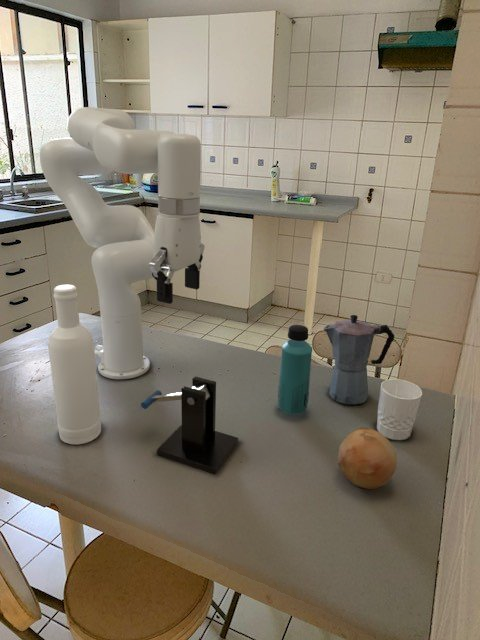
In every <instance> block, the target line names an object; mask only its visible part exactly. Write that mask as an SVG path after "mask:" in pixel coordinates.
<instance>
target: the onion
mask: <svg viewBox="0 0 480 640" xmlns="http://www.w3.org/2000/svg"><path fill="white" fill-rule="evenodd" d="M397 463H398V457H397V452H396V450H395V448H394V446H393V445H392V443H391V442H390V440H389V438H387V437H385V436H384V435H382V434H381V433H379V432H378V430H377V429H376V430H375V429H372V428H370V427H364V426H363V427H359V428H356V429H354V430H353V431H351V432H350V433H348V434H347V436H345V438H344V439H343V440H342V442H341V443H340V445H339V448H338V456H337V465H338V467H339V470H340V471H341V473H342V474H343V475H344V477H345V478H346V479H347V480H348V481H349V482H350V483H352V484H353V485H355V486H357V487H359V488H363V489H367V490H375V489H378V488H381V487H382V486H383V485H385V484H387V482H389V480H391V479H392V477H394V475H395V472H396V468H397Z"/></svg>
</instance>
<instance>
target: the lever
mask: <svg viewBox="0 0 480 640" xmlns="http://www.w3.org/2000/svg"><path fill="white" fill-rule="evenodd" d="M191 388H193V389H197V390H200V391H204V392H206V400H207V399H208V398H209V397H210V394H209V392H208V389H207V386H206V384H205V385H197V386H193V387H192V386H191ZM179 400H180V401H181V391H180V392H173V393H172V392H171V393H165V394H163V393H162V391H161V390H159V389H156V391H154V392H153V393H152V394H151V395H149V396H148V397H146V398H145V399H144V400H143V401H142V402H141V403H140V407H141V408H142V409H143V410H148V409H149V407H150V406H151V405H153V404H154V403H155V404H156V403H162V402H172V401H179Z"/></svg>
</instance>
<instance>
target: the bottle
mask: <svg viewBox="0 0 480 640" xmlns="http://www.w3.org/2000/svg"><path fill="white" fill-rule="evenodd" d="M78 297H79V294H78V291H77V287H76V286H75V285H73V284H69V283H68V284H65V283H64V284H59V285H57V286H55V287H54V288H53V298H54V302H55V311H56V319H57V325H56V326H55V327H54V328H53V329H52V331H51V332H50V334H49V338H48V341H47V350H48V357H49V365H50V372H51V373H50V374H51V381H52V388H53V389H52V390H53V396H54V403H55V412H56V419H57V422H56V423H57V430H58V435H59V439H60V440H61V441H62V442H63V443H66V444H68V445H83V444H84V445H85V444H87V443H90V442H92V441H93V440H95V439H97V438H98V436H100V434H101V431H102V417H101V411H100V401H99V399H100V398H99V388H98V376H97V375H98V374H97V364H96V356H95V352H94V350H95V342H94V338H93V336H92V334H91V332H90V330H89V328H88V327H86V326H85V325H84V324H82V323H81V322H80V314H79V302H78Z"/></svg>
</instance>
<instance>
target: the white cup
mask: <svg viewBox="0 0 480 640" xmlns="http://www.w3.org/2000/svg"><path fill="white" fill-rule="evenodd" d="M422 396H423V390H422V388H420V386H419V385H417V384H416V383H413V382H411V381H408V380H405V379H401V378H389V379H385V380H383V381H382V382H381V383H380V388H379V396H378V397H379V398H378V406H377V416H376V417H377V421H376V431H378V432H379V433H381V434H382V435H384V436H385V437H386V438H387V439H388V440H389V439H390V440H392V441H404V440H407V439H409V438H410V437H411V434H412V430H413V427H414V424H415V422H416V418H417V415H418V411H419V408H420V404H421V400H422Z"/></svg>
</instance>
